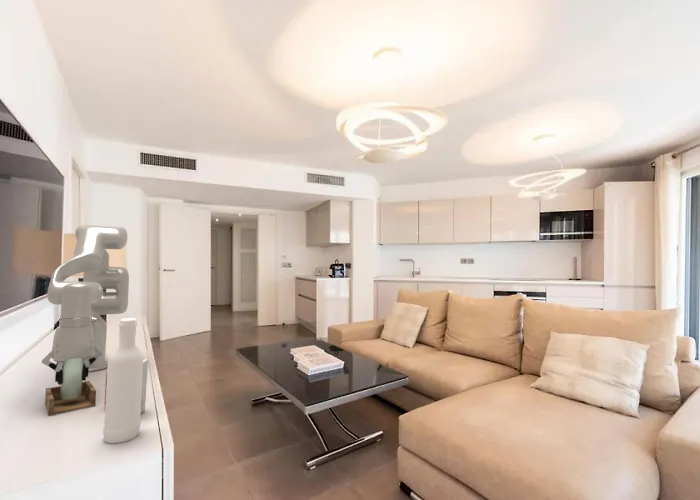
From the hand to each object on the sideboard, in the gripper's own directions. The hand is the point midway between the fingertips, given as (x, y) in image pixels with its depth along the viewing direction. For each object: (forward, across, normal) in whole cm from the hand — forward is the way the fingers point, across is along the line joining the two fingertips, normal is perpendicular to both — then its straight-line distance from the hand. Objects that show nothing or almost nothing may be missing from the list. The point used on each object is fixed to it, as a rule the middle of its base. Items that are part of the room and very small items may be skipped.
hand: (71, 381), depth 107 cm
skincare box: (+8, -11, +20) cm, 24 cm away
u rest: (+7, 0, 0) cm, 7 cm away
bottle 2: (+8, -7, +32) cm, 34 cm away
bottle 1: (+5, 0, 0) cm, 5 cm away
